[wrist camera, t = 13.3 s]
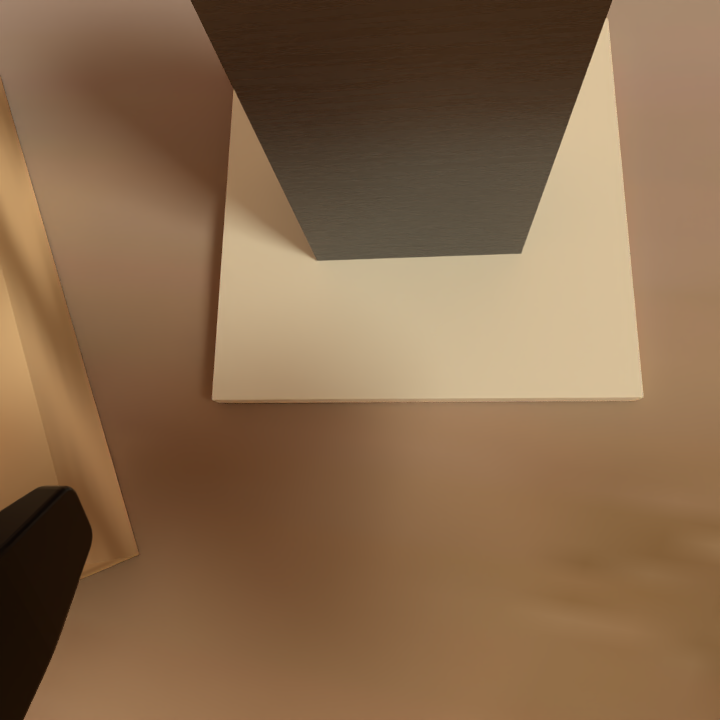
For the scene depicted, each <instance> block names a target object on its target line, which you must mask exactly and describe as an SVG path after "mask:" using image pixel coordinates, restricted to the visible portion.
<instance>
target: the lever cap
mask: <svg viewBox="0 0 720 720" xmlns="http://www.w3.org/2000/svg"><path fill="white" fill-rule="evenodd" d="M191 2H192V4H193V6H194V8H195V10H196V12H197V14H198V16H199V18H200V20H201V22H202V24H203V27H204V29H205V31H206V33H207V35H208V37H209V39H210V41H211V43H212V45H213V47H214V49H215V51H216V53H217V55H218V57H219V60H220V62H221V64H222V66H223V68H224V70H225V72H226V74H227V76H228V78H229V80H230V82H231V84H232V86H233V88H234V90H235V92H236V95H237V97H238V99H239V101H240V103H241V105H242V107H243V109H244V111H245V113H246V115H247V117H248V119H249V121H250V123H251V125H252V128H253V130H254V132H255V134H256V136H257V138H258V140H259V142H260V144H261V146H262V148H263V150H264V152H265V154H266V156H267V158H268V161H269V163H270V165H271V167H272V169H273V171H274V173H275V175H276V177H277V179H278V181H279V183H280V185H281V187H282V189H283V191H284V193H285V196H286V198H287V200H288V202H289V204H290V206H291V208H292V210H293V212H294V214H295V216H296V218H297V220H298V222H299V224H300V226H301V229H302V231H303V233H304V235H305V237H306V239H307V241H308V243H309V245H310V247H311V249H312V251H313V253H314V255H315V257H316V259H317V261H328V260H356V259H385V258H413V257H441V256H469V255H497V254H521V253H522V250H523V247H524V244H525V242H526V239H527V236H528V233H529V230H530V228H531V225H532V222H533V219H534V217H535V214H536V211H537V208H538V205H539V203H540V200H541V197H542V194H543V192H544V189H545V186H546V183H547V180H548V178H549V175H550V172H551V169H552V166H553V164H554V161H555V158H556V155H557V153H558V150H559V147H560V144H561V141H562V139H563V136H564V133H565V130H566V128H567V125H568V122H569V119H570V116H571V114H572V111H573V108H574V105H575V103H576V100H577V97H578V94H579V91H580V89H581V86H582V83H583V80H584V78H585V75H586V72H587V69H588V66H589V64H590V61H591V58H592V55H593V52H594V50H595V47H596V44H597V41H598V39H599V36H600V33H601V30H602V27H603V25H604V22H605V19H606V16H607V14H608V11H609V8H610V5H611V2H612V0H191Z"/></svg>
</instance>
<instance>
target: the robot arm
mask: <svg viewBox="0 0 720 720" xmlns="http://www.w3.org/2000/svg"><path fill="white" fill-rule="evenodd" d="M92 539H93V533H92V527H91V524H90V522H89V520H88V518H87V515H86V513H85V511H84V508H83V506H82V504H81V501H80V499H79V497H78V495H77V493H76V491H75V490H74V489H73V488H72V487H69V486H57V485H45V486H40V487H37V488H36V489H34V490H32V491H31V492H29V493H28V494H26V495H24V496H23V497H21V498H20V499H18V500H17V501H15V502H13V503H12V504H10V505H9V506H7V507H6V508H4V509H2V510H1V511H0V720H24V717H25V715H26V713H27V711H28V709H29V707H30V704H31V702H32V700H33V698H34V696H35V694H36V691H37V689H38V687H39V685H40V683H41V680H42V678H43V676H44V674H45V672H46V669H47V667H48V665H49V662H50V660H51V658H52V655H53V653H54V650H55V648H56V645H57V643H58V640H59V637H60V635H61V632H62V629H63V626H64V623H65V620H66V617H67V615H68V612H69V609H70V606H71V603H72V600H73V597H74V594H75V591H76V589H77V586H78V583H79V580H80V577H81V574H82V571H83V568H84V566H85V563H86V560H87V557H88V554H89V551H90V548H91V545H92Z"/></svg>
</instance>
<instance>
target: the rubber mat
mask: <svg viewBox="0 0 720 720" xmlns="http://www.w3.org/2000/svg"><path fill="white" fill-rule="evenodd" d="M641 398H643V387H642V376H641V366H640V355H639V344H638V333H637V323H636V312H635V301H634V291H633V280H632V269H631V259H630V248H629V237H628V227H627V216H626V205H625V195H624V184H623V173H622V163H621V152H620V141H619V131H618V120H617V109H616V99H615V88H614V77H613V67H612V56H611V45H610V35H609V24H608V18H606V19H605V22H604V25H603V27H602V30H601V33H600V36H599V39H598V41H597V44H596V47H595V50H594V52H593V55H592V58H591V61H590V64H589V66H588V69H587V72H586V75H585V78H584V80H583V83H582V86H581V89H580V91H579V94H578V97H577V100H576V103H575V105H574V108H573V111H572V114H571V116H570V119H569V122H568V125H567V128H566V130H565V133H564V136H563V139H562V141H561V144H560V147H559V150H558V153H557V155H556V158H555V161H554V164H553V166H552V169H551V172H550V175H549V178H548V180H547V183H546V186H545V189H544V192H543V194H542V197H541V200H540V203H539V205H538V208H537V211H536V214H535V217H534V219H533V222H532V225H531V228H530V230H529V233H528V236H527V239H526V242H525V244H524V247H523V250H522V253H521V254H497V255H469V256H441V257H413V258H385V259H356V260H328V261H317V259H316V257H315V255H314V253H313V251H312V249H311V247H310V245H309V243H308V241H307V239H306V237H305V235H304V233H303V231H302V229H301V226H300V224H299V222H298V220H297V218H296V216H295V214H294V212H293V210H292V208H291V206H290V204H289V202H288V200H287V198H286V196H285V193H284V191H283V189H282V187H281V185H280V183H279V181H278V179H277V177H276V175H275V173H274V171H273V169H272V167H271V165H270V163H269V161H268V158H267V156H266V154H265V152H264V150H263V148H262V146H261V144H260V142H259V140H258V138H257V136H256V134H255V132H254V130H253V128H252V125H251V123H250V121H249V119H248V117H247V115H246V113H245V111H244V109H243V107H242V105H241V103H240V101H239V99H238V97H237V95H236V92H235V90H234V89H233V103H232V118H231V132H230V146H229V161H228V175H227V189H226V204H225V218H224V233H223V247H222V261H221V276H220V290H219V304H218V319H217V333H216V347H215V362H214V376H213V390H212V400H213V401H216V402H218V403H321V402H519V401H637V400H639V399H641Z"/></svg>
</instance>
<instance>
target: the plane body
mask: <svg viewBox="0 0 720 720" xmlns="http://www.w3.org/2000/svg"><path fill="white" fill-rule="evenodd" d="M45 485H57V486H69V487H72V488H73V489H74V490H75V491H76V493H77V495H78V497H79V499H80V501H81V504H82V506H83V508H84V511H85V513H86V515H87V518H88V520H89V522H90V524H91V527H92V533H93V539H92V545H91V548H90V551H89V554H88V557H87V560H86V563H85V566H84V568H83V571H82V574H81V577H80V579H83V578H85V577H88V576H90V575H92V574H95V573H97V572H99V571H102V570H104V569H106V568H109V567H111V566H114V565H116V564H118V563H121V562H123V561H125V560H128V559H130V558H132V557H135V556H137V555H139V552H138V549H137V545H136V542H135V538H134V535H133V532H132V528H131V525H130V521H129V518H128V514H127V511H126V507H125V504H124V501H123V497H122V494H121V490H120V487H119V483H118V480H117V476H116V473H115V469H114V466H113V463H112V459H111V456H110V452H109V449H108V445H107V442H106V438H105V435H104V432H103V428H102V425H101V421H100V418H99V414H98V411H97V407H96V404H95V401H94V397H93V394H92V390H91V387H90V383H89V380H88V376H87V373H86V370H85V366H84V363H83V359H82V356H81V352H80V349H79V345H78V342H77V339H76V335H75V332H74V328H73V325H72V321H71V318H70V314H69V311H68V308H67V304H66V301H65V297H64V294H63V290H62V287H61V283H60V280H59V277H58V273H57V270H56V266H55V263H54V259H53V256H52V252H51V249H50V245H49V242H48V239H47V235H46V232H45V228H44V225H43V221H42V218H41V214H40V211H39V208H38V204H37V201H36V197H35V194H34V190H33V187H32V183H31V180H30V177H29V173H28V170H27V166H26V163H25V159H24V156H23V152H22V149H21V146H20V142H19V139H18V135H17V132H16V128H15V125H14V121H13V118H12V115H11V111H10V108H9V104H8V101H7V97H6V94H5V90H4V87H3V84H2V80H1V77H0V511H1V510H2V509H4V508H6V507H7V506H9V505H10V504H12V503H13V502H15V501H17V500H18V499H20V498H21V497H23V496H24V495H26V494H28V493H29V492H31V491H32V490H34V489H36V488H37V487H40V486H45Z"/></svg>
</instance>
